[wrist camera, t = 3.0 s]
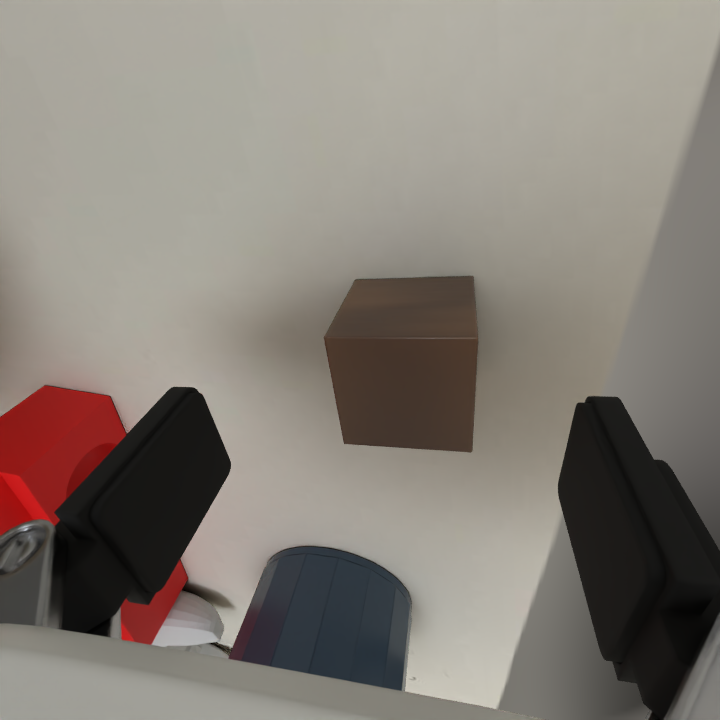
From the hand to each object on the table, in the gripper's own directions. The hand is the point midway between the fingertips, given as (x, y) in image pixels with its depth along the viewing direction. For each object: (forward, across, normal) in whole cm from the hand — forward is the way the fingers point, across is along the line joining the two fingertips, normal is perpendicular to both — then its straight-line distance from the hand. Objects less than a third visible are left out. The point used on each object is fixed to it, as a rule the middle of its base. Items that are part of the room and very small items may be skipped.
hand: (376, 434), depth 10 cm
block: (+6, -1, 0) cm, 6 cm away
